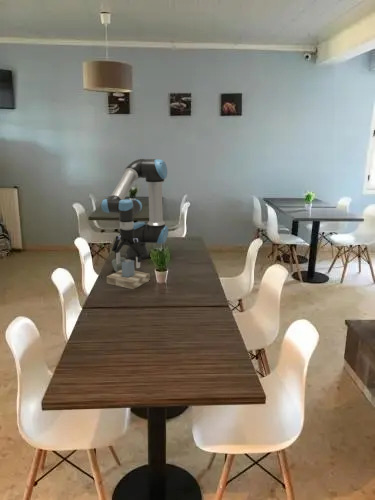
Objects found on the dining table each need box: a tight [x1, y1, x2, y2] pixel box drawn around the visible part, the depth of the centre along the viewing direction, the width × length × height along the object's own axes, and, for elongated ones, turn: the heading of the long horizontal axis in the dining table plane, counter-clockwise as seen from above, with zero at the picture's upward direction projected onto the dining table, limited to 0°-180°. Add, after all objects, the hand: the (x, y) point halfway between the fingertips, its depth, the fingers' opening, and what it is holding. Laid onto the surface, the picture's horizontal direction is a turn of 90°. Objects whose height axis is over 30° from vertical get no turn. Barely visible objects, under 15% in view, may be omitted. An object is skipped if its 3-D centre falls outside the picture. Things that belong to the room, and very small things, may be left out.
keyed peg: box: [122, 258, 135, 278], centre depth 233 cm, size 4×6×13 cm, turn 151°
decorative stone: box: [111, 256, 127, 273], centre depth 252 cm, size 13×11×10 cm
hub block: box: [106, 270, 151, 290], centre depth 234 cm, size 16×18×4 cm
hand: (128, 265), depth 233 cm, fingers open, 13 cm apart
